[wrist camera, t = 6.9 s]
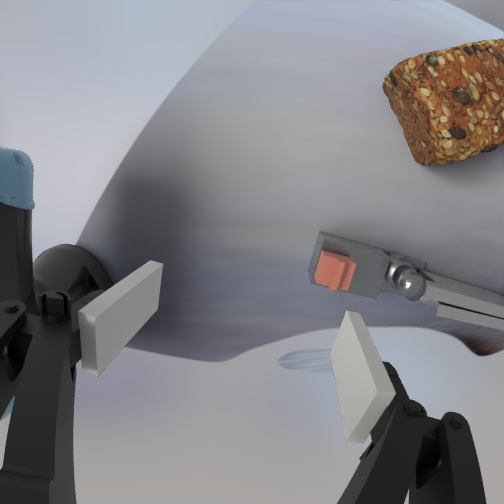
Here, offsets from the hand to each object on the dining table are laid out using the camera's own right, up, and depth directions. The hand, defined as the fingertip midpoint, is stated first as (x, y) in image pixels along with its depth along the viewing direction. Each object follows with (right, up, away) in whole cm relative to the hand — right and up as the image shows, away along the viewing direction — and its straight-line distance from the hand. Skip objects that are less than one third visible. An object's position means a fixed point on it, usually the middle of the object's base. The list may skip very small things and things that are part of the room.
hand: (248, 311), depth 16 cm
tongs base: (+22, -1, +16) cm, 27 cm away
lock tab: (+8, +2, +12) cm, 15 cm away
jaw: (+26, -1, +15) cm, 30 cm away
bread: (+24, +20, +11) cm, 33 cm away
